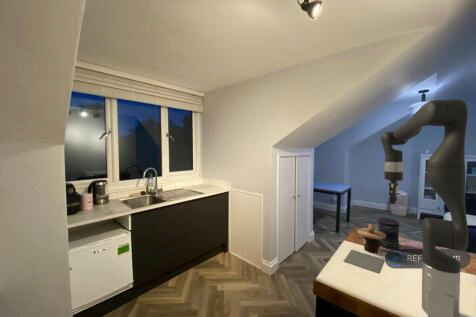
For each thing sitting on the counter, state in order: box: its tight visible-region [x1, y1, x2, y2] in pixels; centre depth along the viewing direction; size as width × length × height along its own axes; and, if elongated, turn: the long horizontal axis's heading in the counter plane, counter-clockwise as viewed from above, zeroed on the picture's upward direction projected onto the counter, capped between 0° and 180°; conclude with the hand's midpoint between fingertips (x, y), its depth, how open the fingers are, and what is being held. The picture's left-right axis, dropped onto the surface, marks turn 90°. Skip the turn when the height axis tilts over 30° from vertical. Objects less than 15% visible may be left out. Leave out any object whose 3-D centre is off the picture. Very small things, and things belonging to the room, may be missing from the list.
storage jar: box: [377, 217, 400, 251], centre depth 117 cm, size 10×10×15 cm
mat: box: [343, 249, 385, 274], centre depth 103 cm, size 15×15×1 cm
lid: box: [357, 223, 386, 239], centre depth 111 cm, size 13×13×5 cm
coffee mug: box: [362, 236, 381, 254], centre depth 111 cm, size 12×9×10 cm
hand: (393, 202), depth 102 cm, fingers open, 8 cm apart
